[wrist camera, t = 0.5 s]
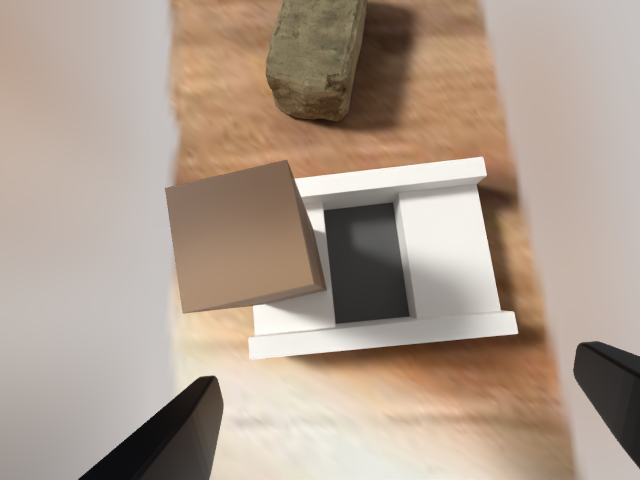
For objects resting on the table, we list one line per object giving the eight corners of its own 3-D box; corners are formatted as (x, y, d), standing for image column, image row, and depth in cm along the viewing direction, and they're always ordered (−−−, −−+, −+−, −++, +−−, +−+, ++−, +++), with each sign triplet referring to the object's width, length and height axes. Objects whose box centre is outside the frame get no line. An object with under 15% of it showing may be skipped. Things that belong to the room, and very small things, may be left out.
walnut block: (327, 290, 21) (313, 284, 10) (264, 304, 21) (182, 313, 10) (313, 229, 21) (287, 159, 10) (253, 243, 21) (164, 188, 10)
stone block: (369, 1, 27) (376, -65, 22) (347, 130, 25) (349, 90, 20) (300, -7, 27) (292, -72, 23) (274, 120, 26) (259, 79, 21)
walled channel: (486, 327, 22) (518, 333, 18) (265, 348, 23) (249, 359, 19) (459, 179, 24) (483, 156, 20) (255, 203, 24) (238, 185, 20)
